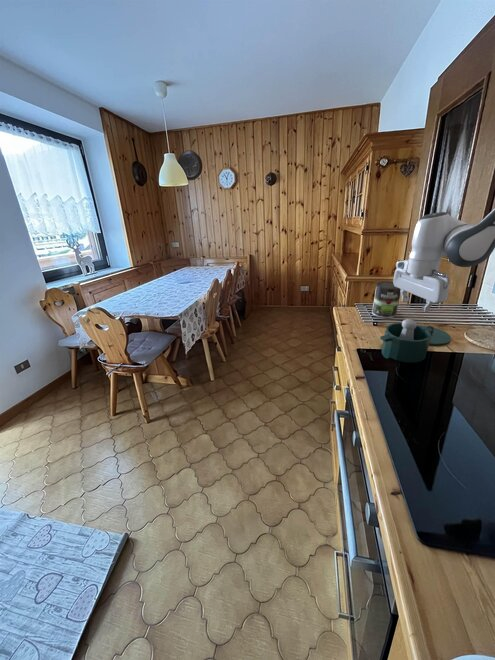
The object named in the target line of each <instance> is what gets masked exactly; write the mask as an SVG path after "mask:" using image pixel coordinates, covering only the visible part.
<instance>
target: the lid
mask: <svg viewBox="0 0 495 660" xmlns="http://www.w3.org/2000/svg"><path fill="white" fill-rule="evenodd" d="M421 326H422V327H423V328H428V327H429V328H430V329H432V330H434V332H433V333H431V339H430V343H429V345H433V346H434V345H435V346H439V345H441V346H442V345H446V344H449V343H450V342H451V340H452V336H451V335H450V334H449V332H446V331H445V330H442V329H440V328H438V327H434V326H432V325H421Z"/></svg>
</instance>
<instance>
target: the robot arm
mask: <svg viewBox="0 0 495 660" xmlns="http://www.w3.org/2000/svg"><path fill="white" fill-rule="evenodd" d="M494 250H495V207H494V208H493V209H492V210H491V211H490V212H489V213H488V214H487V215H486V216H485V217H484V218H483V219H482V220H481V221H480V222H478V223H476V224H473V223H469V222H465V221H462V220H460V219H458V218H456V217H453V216H452V215H451V214H449V213H448V212H446V211H439V212H433V213H427V214H425V215H423V216H421V217H420V218H419V219H418V221H417V222H416V225H415V227H414V231H413V235H412V240H411V252H410V253H409V256H408V259H405V260H399V261H397V262H396V263H395V268H396V269H395V270H394V275H393V279H392V280H393V281H392V282H393V284H394V286H395V287H398V288H400V289H401V291H400V297H401V299H400V301H401V302H402V303H408V302H409V301H410V296H408V295H409V293H410V294H411V295H414V296H417V297H419V298H422V299H424V300H425V303H426V304H425V305H422V307H421V311H422V312H423V313H429V312H430V311H431V307H432V306H433V305H434V304H443V303H445V302H446V301H447V300H448V299H449V298H448V297H449V291H450V282H451V279H450V277H449V275H448V274H447V273H446V272H441V271H439V268H440V265H441V261H442V258H443V256H446V258H447V259H448V261H449V262H450V264H452V265H454V266H456V267H458V268H459V267H460V268H472V267H475V266H478V265H480V264H481V263H483V262H485V261H486V260H487V259H489V257H490V256H491V255H492V253H493V252H494Z"/></svg>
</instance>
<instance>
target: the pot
mask: <svg viewBox="0 0 495 660" xmlns="http://www.w3.org/2000/svg"><path fill="white" fill-rule="evenodd" d="M422 326H423V325H418V324H417V326H416V328H415V329H414V340H407V339H402V338H399V336H400V334H401V332H402V330H403V327H402V322H393V323H389V324H388V325H386V327H385V329H384V335H380V338H379V339H380V340H381V341H382V346H381V355H382V357H383V358H385V359H393V360H394V361H398V362H403V363H420V362H422V361H424V360H426V357H427V355H428V354H427V353H428V351H429V347H430V344H429V343H430V339H431V333H433V332H434V330H432V329H430V328H429V327H428V328H423V327H422Z"/></svg>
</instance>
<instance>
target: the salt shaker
mask: <svg viewBox="0 0 495 660" xmlns="http://www.w3.org/2000/svg"><path fill="white" fill-rule="evenodd" d="M401 323H402V327H403V330H402V332H401V334H400V336H399V338H402V339H407V340H414V329H415V328H416V326H417V325H418V322H417V321H416V320H415V319H411V318H407V319H403V320H402V322H401Z"/></svg>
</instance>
